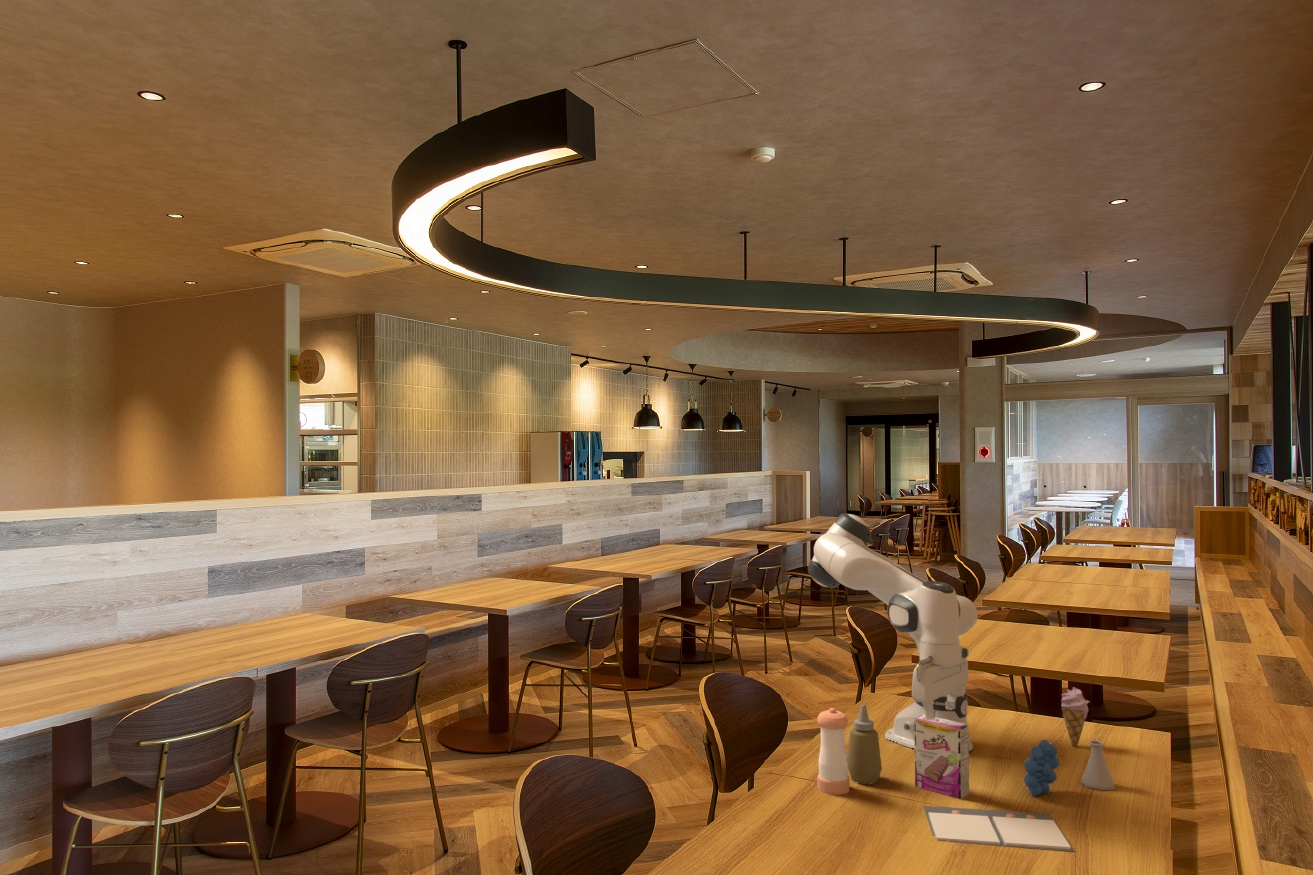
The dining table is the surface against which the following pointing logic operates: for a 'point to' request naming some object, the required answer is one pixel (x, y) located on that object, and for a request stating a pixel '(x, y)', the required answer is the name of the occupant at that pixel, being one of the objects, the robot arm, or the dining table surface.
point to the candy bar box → (942, 756)
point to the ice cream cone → (1074, 713)
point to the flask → (1097, 769)
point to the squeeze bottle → (864, 750)
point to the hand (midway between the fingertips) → (940, 713)
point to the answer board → (996, 828)
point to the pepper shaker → (833, 753)
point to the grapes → (1041, 768)
